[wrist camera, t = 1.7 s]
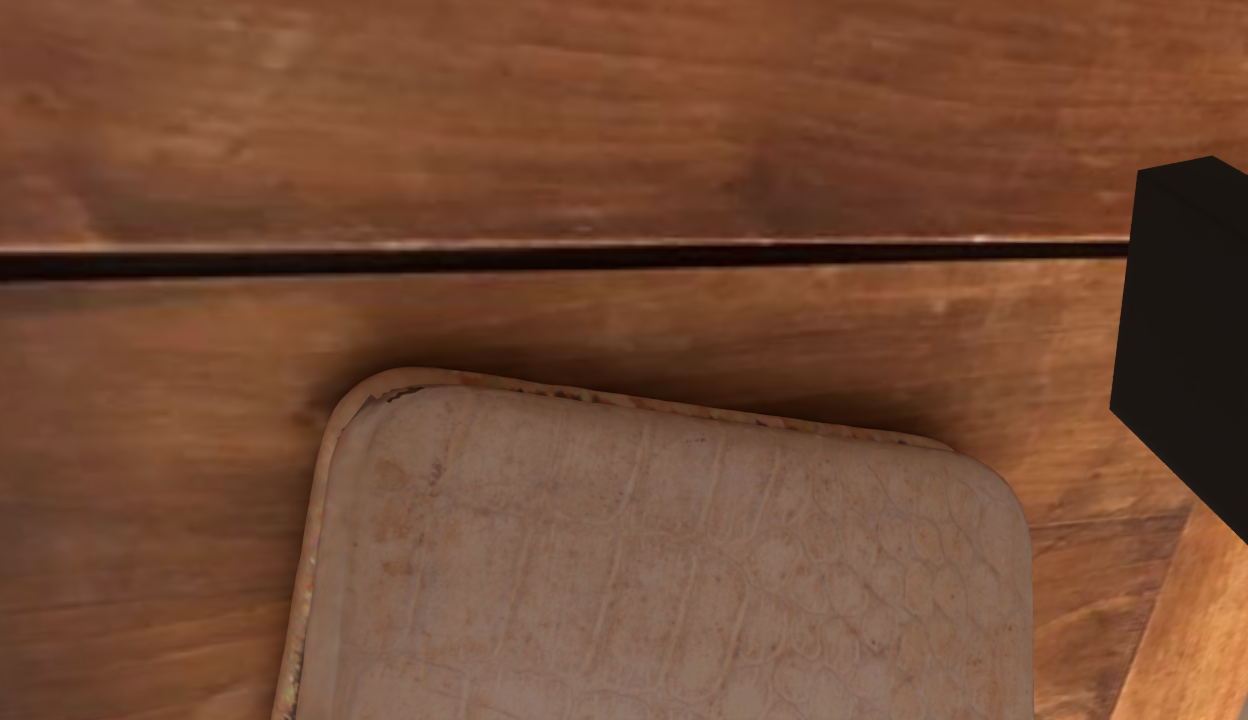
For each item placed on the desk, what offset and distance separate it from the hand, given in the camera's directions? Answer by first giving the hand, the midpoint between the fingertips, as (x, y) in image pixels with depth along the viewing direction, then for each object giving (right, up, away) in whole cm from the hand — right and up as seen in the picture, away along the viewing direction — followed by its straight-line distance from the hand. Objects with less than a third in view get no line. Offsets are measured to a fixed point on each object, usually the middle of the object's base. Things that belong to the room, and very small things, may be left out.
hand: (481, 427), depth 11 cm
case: (+1, -9, +27) cm, 29 cm away
